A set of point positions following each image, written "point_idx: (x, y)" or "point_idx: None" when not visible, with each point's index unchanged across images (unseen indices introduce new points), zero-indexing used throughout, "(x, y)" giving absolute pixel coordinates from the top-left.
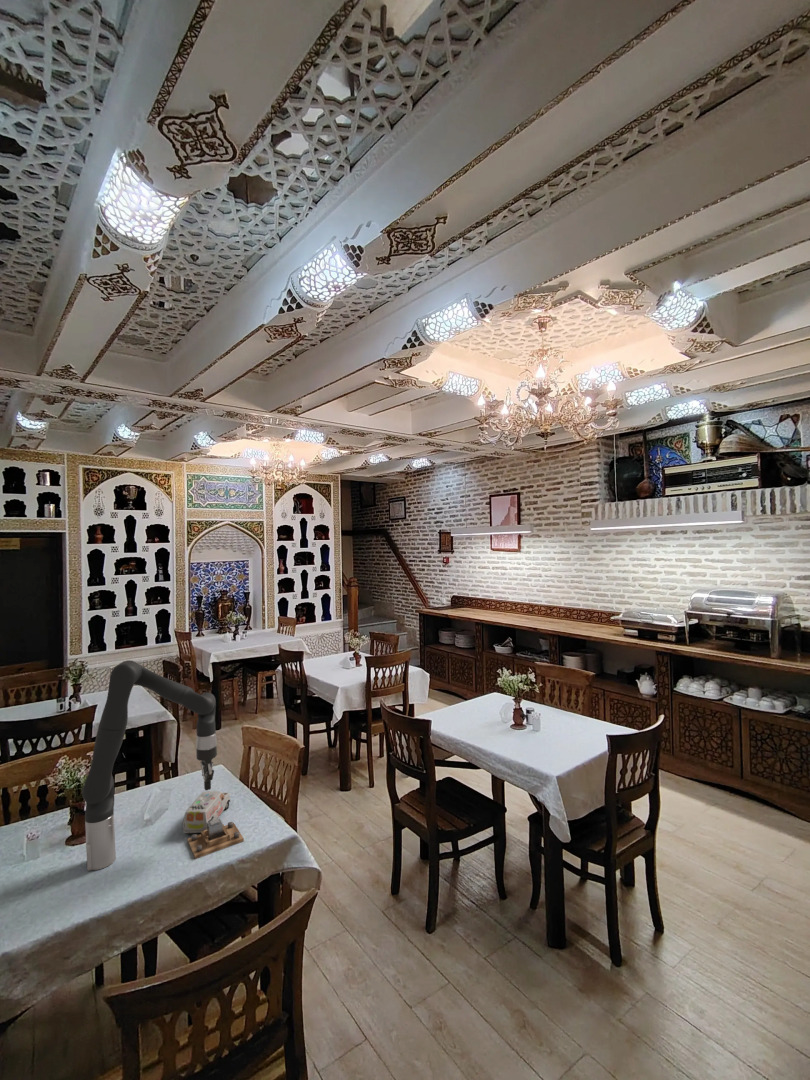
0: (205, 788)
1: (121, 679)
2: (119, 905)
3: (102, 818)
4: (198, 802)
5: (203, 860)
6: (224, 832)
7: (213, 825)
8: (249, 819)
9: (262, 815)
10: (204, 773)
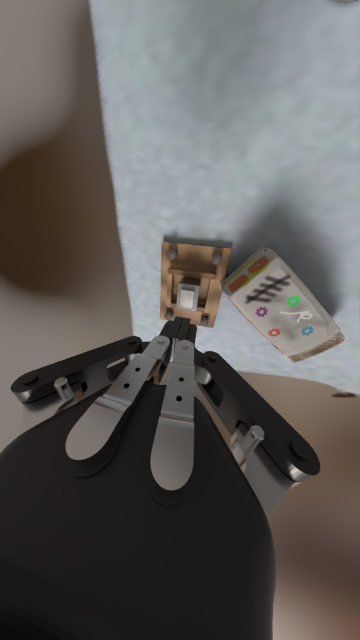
0: (174, 320)
1: None
2: (91, 13)
3: None
4: (290, 302)
5: (151, 252)
6: None
7: (179, 292)
8: (210, 345)
9: None
10: (128, 368)
